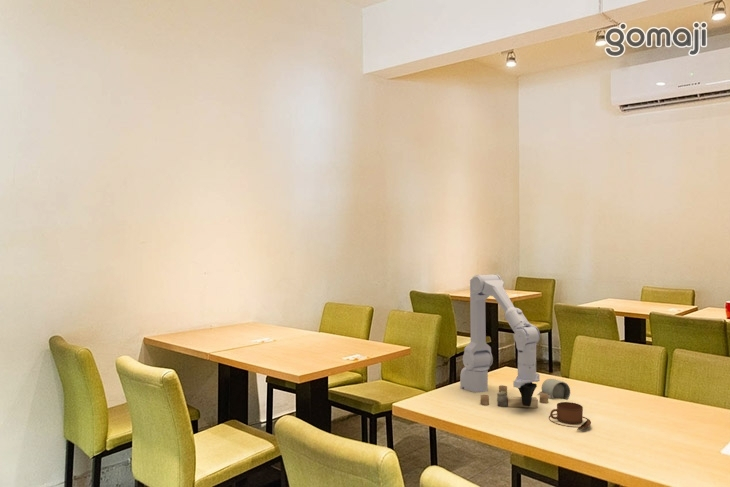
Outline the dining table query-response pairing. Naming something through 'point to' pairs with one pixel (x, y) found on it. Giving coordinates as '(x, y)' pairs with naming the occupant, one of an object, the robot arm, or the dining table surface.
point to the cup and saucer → (570, 414)
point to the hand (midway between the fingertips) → (526, 405)
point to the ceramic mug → (555, 389)
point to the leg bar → (515, 402)
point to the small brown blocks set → (503, 392)
